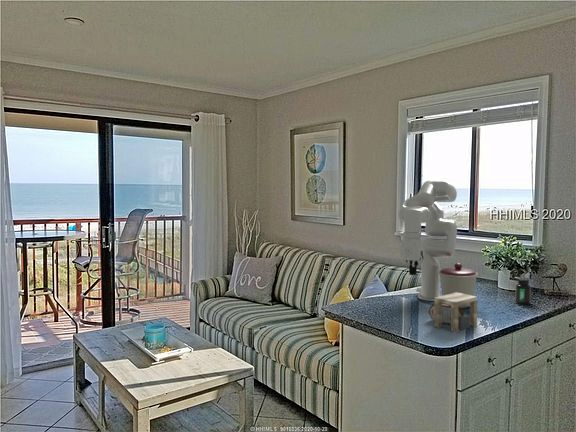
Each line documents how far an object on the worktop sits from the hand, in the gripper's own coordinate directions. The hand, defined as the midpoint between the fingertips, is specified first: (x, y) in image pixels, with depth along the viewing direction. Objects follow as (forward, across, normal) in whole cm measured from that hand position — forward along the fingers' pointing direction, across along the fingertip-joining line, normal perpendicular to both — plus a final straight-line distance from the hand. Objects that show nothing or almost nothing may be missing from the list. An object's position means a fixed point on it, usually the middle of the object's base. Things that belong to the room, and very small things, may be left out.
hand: (412, 274), depth 208 cm
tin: (+18, +19, -1) cm, 26 cm away
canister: (+20, +5, +28) cm, 34 cm away
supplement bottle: (+20, +22, +57) cm, 64 cm away
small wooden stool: (+18, +24, -1) cm, 30 cm away
